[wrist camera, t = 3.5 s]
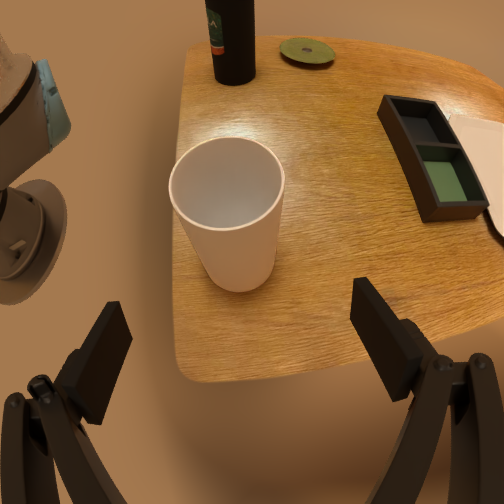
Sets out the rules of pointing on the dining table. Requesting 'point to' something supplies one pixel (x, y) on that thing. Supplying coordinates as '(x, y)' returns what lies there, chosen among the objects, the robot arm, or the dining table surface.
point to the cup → (230, 208)
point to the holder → (432, 160)
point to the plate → (485, 159)
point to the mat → (307, 50)
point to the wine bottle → (232, 40)
